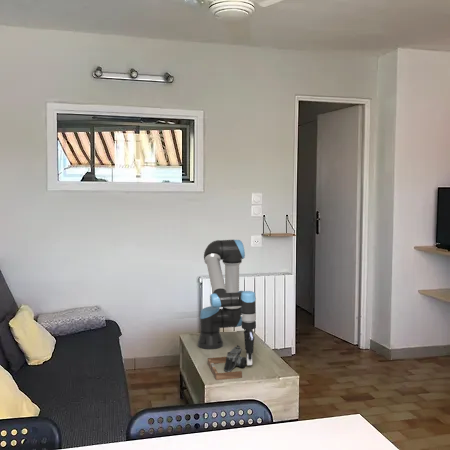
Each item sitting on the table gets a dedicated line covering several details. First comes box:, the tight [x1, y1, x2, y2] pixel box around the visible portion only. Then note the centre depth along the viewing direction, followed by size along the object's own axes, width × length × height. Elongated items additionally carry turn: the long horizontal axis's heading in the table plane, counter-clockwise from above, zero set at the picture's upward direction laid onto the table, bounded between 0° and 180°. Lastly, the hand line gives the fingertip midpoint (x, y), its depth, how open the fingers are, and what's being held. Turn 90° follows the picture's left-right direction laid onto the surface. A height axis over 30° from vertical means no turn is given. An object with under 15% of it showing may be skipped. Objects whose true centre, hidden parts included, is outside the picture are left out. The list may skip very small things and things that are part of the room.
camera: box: [223, 345, 247, 372], centre depth 276 cm, size 18×9×10 cm, turn 163°
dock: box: [207, 356, 243, 381], centre depth 273 cm, size 25×13×4 cm, turn 12°
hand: (249, 364), depth 276 cm, fingers closed
